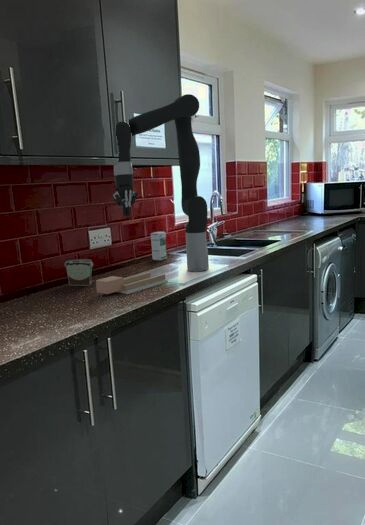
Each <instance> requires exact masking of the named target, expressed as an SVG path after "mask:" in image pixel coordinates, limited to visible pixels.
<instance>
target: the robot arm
mask: <svg viewBox="0 0 365 525" xmlns="http://www.w3.org/2000/svg"><path fill="white" fill-rule="evenodd" d="M199 110H200V102H199V99H198V98H197V97H196V96H195V95H193V94H183V95H182V96H179V97H177V98H176V99H174V101H173V102H171V103H170V104H167V105H164V106H161V107H159V108H156V109H152V110H150V111H146V112H143V113H141V114H137V115H135V116H133V117H132V118H130V119H128V120H129V125H130V127H129V125H128V124H127V123H125V122H123V121H118V122H116V123H117V125H116V136H117V140H118V144H119V152H120V153H119V161H118V164H117V165H114V164H113V177H114V178H113V179H114V185H115V186H116V189H115V193H113V194H111V197H112V199H113V200H114V201H115V202H116V204H117V205H118V207H121V208H122V214H123V217H130V216H131V206H134V204H135V202H136V200H137V197H138V195H139V194H138V192H136V191H134V186H133V185H134V175H133V174H134V172H133V170H134V169H133V164H132V155H131V147H132V146H131V145H132V137H134V136H137V135H140V134H142V133H146V132H149V131H151V130H153V129H156V128H158V127H161V126H162V125H165V124H167V123H169V122H171V121H174V124H175V131H176V139H177V140H176V143H177V154H178V166H179V173H180V175H179V177H180V186H181V202H180V203H181V211H182V212H183V214H184V215H186V216H188V220H187V222H188V223H187V224H186V225H185V227H184V228H185V247H186V248H185V249H186V270H187V271H188V272H204V270H205V271H207V270H208V269H210V268H209V267H210V266H209V263H210V262H209V249H208V246H207V245H208V244H207V243H208V242H207V227H208V202H207V201H206V199H205V198H204V197H203V196H200V195H198V186H197V185H198V183H197V182H198V178H199V174H200V169H201V156H200V148H199V145H198V142H197V140H196V138H195V135H194V132H193V128H192V117H194V116H195V115H196V114H198V112H199ZM131 133H132V137H131Z"/></svg>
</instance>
